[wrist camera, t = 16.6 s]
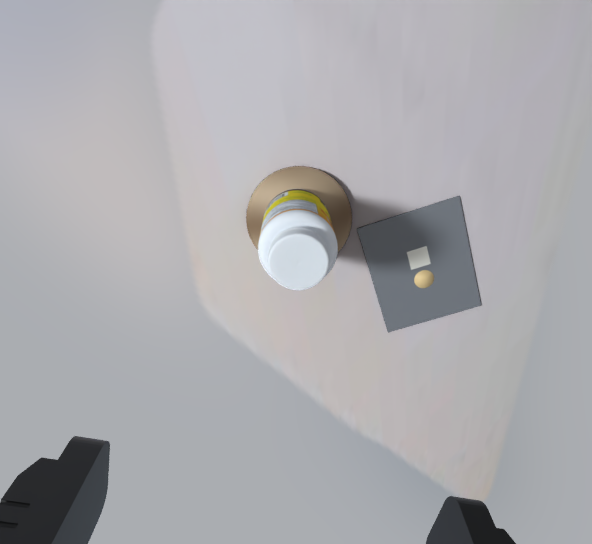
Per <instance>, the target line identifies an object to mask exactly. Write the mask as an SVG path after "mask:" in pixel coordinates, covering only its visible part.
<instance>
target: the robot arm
mask: <svg viewBox="0 0 592 544" xmlns="http://www.w3.org/2000/svg"><path fill="white" fill-rule="evenodd" d="M109 451H110V444H109V442H108V441H103V440H97V439H91V438H84V437H78V436H75V437H73V438H72V439H71V440H70V442H69V443H68V445H67V446H66V448H65V449H64V451H63V453H62V454H61V456H60V457H59V459H58V460H54V459H47V458H40V459H39V460H38V461H36V462H35V463H34V464H32V465H31V466H30V467H29V468H27V469H26V470H25V471H23V472H22V473H21V474H20V475H18V476H17V478H16V479H15V480H14V482H13V483H12V485H11V486H10V488H9V489H8V490H7V492H6V493H5V495H4V496H3V498H2V499H1V503H0V544H88V541H89V539H90V537H91V535H92V533H93V531H94V528H95V526H96V524H97V522H98V519H99V517H100V514H101V512H102V509H103V506H104V502H105V499H106V494H107V488H108V487H107V486H108V471H109ZM426 544H516V543H515V542H514V541H513V540H512V538H511V537H510V536H509V535H508V534H507V532H506V531H505V530H504V529H499V528H496V527H495V524H494V522H493V520H492V518H491V515H490V513H489V511H488V509H487V507H486V505H485V504H484V503H483V502H482V501H478V500H472V499H466V498H459V497H453V496H450V497H448V498H447V499H446V500H445V502H444V504H443V507H442V508H441V510H440V513H439V514H438V517H437V519H436V521H435V523H434V525H433V527H432V529H431V531H430V533H429V535H428V537H427V541H426Z"/></svg>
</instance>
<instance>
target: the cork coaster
mask: <svg viewBox="0 0 592 544" xmlns="http://www.w3.org/2000/svg"><path fill="white" fill-rule="evenodd" d="M289 189H304V190H308V191H310V192H312V193H314V194H316V195H317V196H318V197H319V198H320V199H321V200H322V201H323V202H324V204H325V206H326V207H327V210H328V212H329V216H330V219H331V222H332V225H333V229H334V232H335V235H336V239H337V245H338V252H339V251H340V250H341V248H342V247H343V246H344V244H345V242H346V240H347V238H348V236H349V233H350V230H351V224H352V212H351V207H350V203H349V200H348V198H347V196H346V194H345V192H344V190H343V189H342V187H341V186H340V185H339V184H338V182H337V181H336V180H335V179H333V178H332V177H331V176H330V175H328V174H326V173H325V172H323V171H320V170H318V169H315V168H311V167H305V166H293V167H287V168H283V169H280V170H278V171H276V172H274V173H272V174H271V175H269V176H268V177H266V178H265V179H264V180H263V181H262V182H261V183H260V184H259V185H258V186H257V188H256V189H255V191H254V192H253V194H252V196H251V199H250V201H249V204H248V208H247V216H246V220H247V229H248V233H249V236H250V238H251V240H252V242H253V244H254V245H255V247H256V249H257V250H258V243H259V236H260V232H261V227H262V223H263V218H264V214H265V211H266V208H267V206H268V204H269V203H270V202H271V200H272V199H273V198H274V197H275V196H277V195H278V194H280V193H281V192H283V191H286V190H289ZM338 252H337V253H338Z"/></svg>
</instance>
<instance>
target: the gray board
mask: <svg viewBox="0 0 592 544" xmlns="http://www.w3.org/2000/svg"><path fill="white" fill-rule="evenodd" d="M357 231H358V234H359V237H360V241H361V244H362V247H363V251H364V254H365V257H366V261H367V264H368V267H369V271H370V274H371V277H372V281H373V284H374V287H375V291H376V294H377V297H378V301H379V304H380V307H381V311H382V314H383V317H384V321H385V324H386V327H387V331H388V332H391V331H395V330H398V329H402V328H405V327H408V326H412V325H415V324H419V323H422V322H426V321H429V320H433V319H436V318H440V317H443V316H446V315H450V314H453V313H457V312H460V311H464V310H467V309H471V308H474V307H478V306H481V302H480V297H479V292H478V287H477V282H476V277H475V272H474V267H473V262H472V257H471V252H470V247H469V242H468V237H467V232H466V227H465V222H464V217H463V212H462V206H461V201H460V196H457V197H453V198H450V199H447V200H444V201H441V202H438V203H435V204H432V205H429V206H425V207H422V208H419V209H416V210H413V211H410V212H407V213H404V214H401V215H398V216H394V217H391V218H388V219H385V220H382V221H379V222H376V223H373V224H370V225H366V226H363V227H360V228H357Z"/></svg>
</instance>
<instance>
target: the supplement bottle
mask: <svg viewBox="0 0 592 544" xmlns="http://www.w3.org/2000/svg"><path fill="white" fill-rule="evenodd" d="M337 252H338V245H337V239H336V235H335V232H334V229H333V225H332V222H331V219H330V216H329V212H328V210H327V207H326V206H325V204H324V202H323V201H322V200H321V199H320V198H319V197H318V196H317V195H316V194H314V193H312V192H310V191H308V190H304V189H289V190H286V191H283V192H281V193H280V194H278V195H277V196H275V197H274V198H273V199H272V200H271V202H270V203H269V204H268V206H267V208H266V211H265V214H264V218H263V223H262V227H261V232H260V236H259V243H258V254H259V259H260V262H261V264H262V266H263V268H264V269H265V271H266V272H267V273H268V274H269V275H270V276H271V277H272V278H273V279H274V280H275V281H276V282H277V283H279V284H280V285H281V286H283V287H285V288H288V289H291V290H306V289H309V288H312V287H314V286H315V285H317V284H318V283H319V282H320V281H321V280H322V279H323V278H324V277H325V276H326V275H327V274H328V273H329V272H330V270H331V269H332V267H333V265H334V263H335V261H336V258H337Z"/></svg>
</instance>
